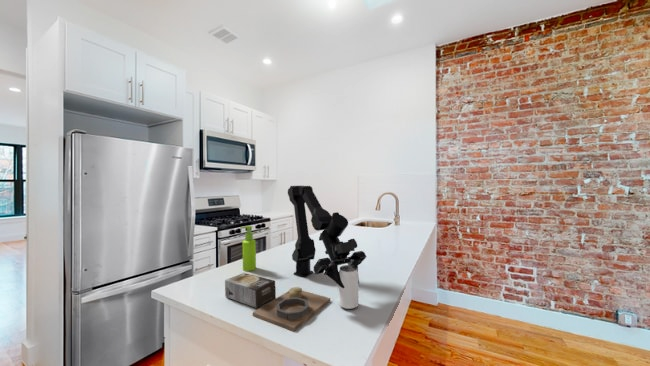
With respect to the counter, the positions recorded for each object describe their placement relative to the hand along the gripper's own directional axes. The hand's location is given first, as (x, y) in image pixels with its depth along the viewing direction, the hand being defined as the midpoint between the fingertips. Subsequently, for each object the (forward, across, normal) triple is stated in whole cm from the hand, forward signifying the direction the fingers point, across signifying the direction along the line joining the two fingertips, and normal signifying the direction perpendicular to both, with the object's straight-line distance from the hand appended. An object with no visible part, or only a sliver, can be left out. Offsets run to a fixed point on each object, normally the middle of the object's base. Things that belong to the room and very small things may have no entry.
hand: (351, 286), depth 82 cm
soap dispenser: (-33, -19, +44) cm, 58 cm away
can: (+4, 0, +6) cm, 7 cm away
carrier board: (-2, -16, +12) cm, 20 cm away
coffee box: (-19, -30, +25) cm, 44 cm away
